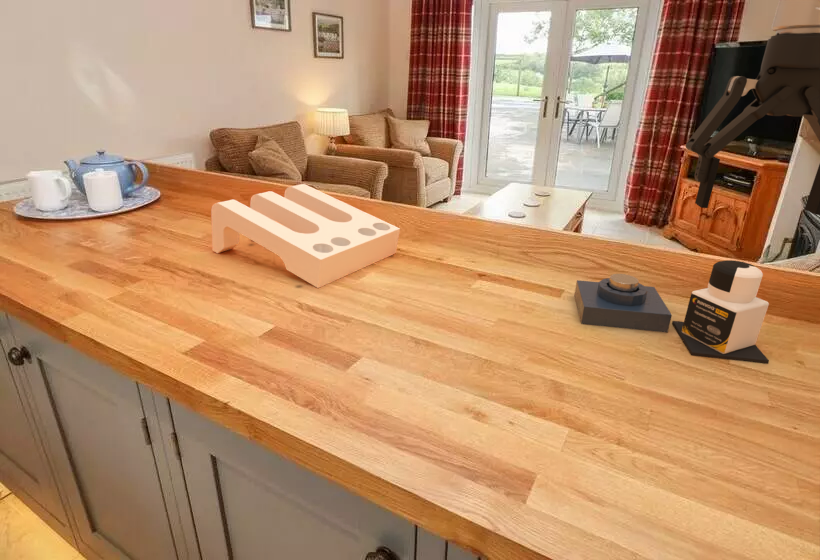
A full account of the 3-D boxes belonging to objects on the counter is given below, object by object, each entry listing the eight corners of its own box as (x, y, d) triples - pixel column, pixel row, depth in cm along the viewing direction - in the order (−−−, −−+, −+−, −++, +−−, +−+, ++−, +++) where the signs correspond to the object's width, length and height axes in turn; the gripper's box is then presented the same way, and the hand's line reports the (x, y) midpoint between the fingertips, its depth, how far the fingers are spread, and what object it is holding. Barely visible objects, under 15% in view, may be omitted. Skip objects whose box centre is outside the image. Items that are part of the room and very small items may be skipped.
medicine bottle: (680, 332, 76) (698, 259, 71) (711, 324, 78) (732, 253, 74) (723, 355, 70) (746, 277, 65) (756, 345, 72) (781, 270, 68)
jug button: (633, 284, 83) (635, 274, 82) (639, 295, 79) (641, 285, 78) (606, 282, 83) (608, 272, 83) (610, 292, 79) (612, 282, 79)
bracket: (320, 259, 88) (210, 199, 102) (315, 314, 94) (212, 250, 108) (400, 228, 106) (297, 180, 120) (391, 276, 112) (294, 225, 126)
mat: (739, 330, 78) (740, 327, 78) (768, 364, 69) (769, 360, 69) (671, 323, 80) (672, 320, 79) (691, 355, 71) (692, 352, 70)
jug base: (650, 303, 87) (656, 277, 85) (667, 333, 77) (674, 304, 75) (574, 296, 89) (578, 270, 87) (581, 324, 79) (585, 296, 77)
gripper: (703, 30, 57) (664, 209, 65) (958, 30, 52) (881, 222, 60) (684, 35, 63) (650, 196, 72) (908, 35, 59) (844, 207, 67)
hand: (755, 209), depth 66 cm, fingers open, 13 cm apart
